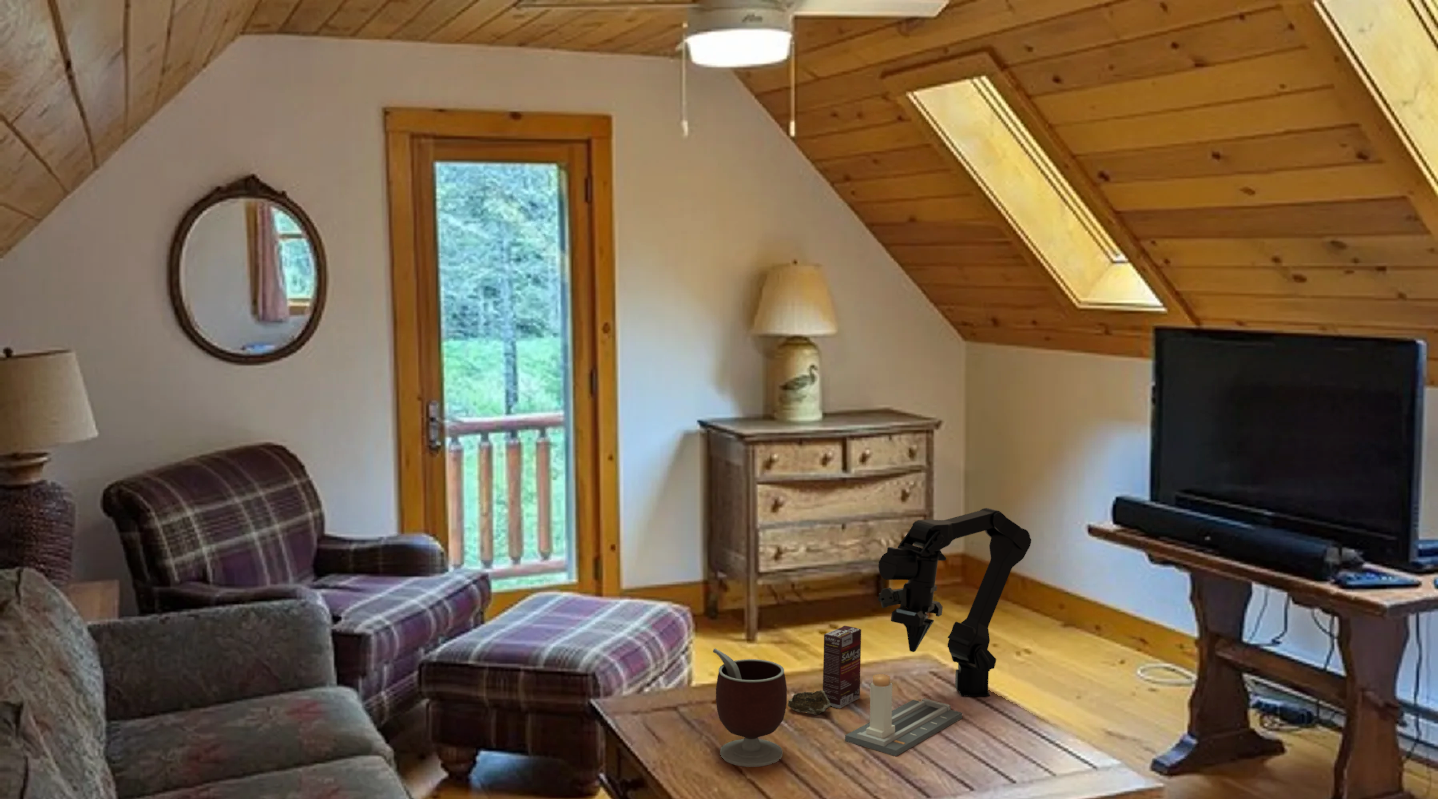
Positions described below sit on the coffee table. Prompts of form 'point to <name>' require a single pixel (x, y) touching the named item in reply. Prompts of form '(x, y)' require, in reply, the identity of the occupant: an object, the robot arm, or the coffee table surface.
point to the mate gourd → (750, 708)
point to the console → (908, 726)
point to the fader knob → (881, 707)
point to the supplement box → (842, 665)
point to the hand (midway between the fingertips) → (912, 651)
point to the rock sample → (809, 702)
